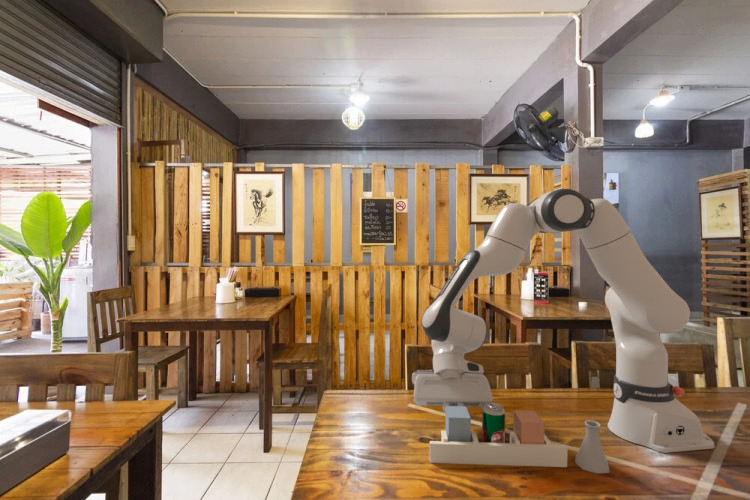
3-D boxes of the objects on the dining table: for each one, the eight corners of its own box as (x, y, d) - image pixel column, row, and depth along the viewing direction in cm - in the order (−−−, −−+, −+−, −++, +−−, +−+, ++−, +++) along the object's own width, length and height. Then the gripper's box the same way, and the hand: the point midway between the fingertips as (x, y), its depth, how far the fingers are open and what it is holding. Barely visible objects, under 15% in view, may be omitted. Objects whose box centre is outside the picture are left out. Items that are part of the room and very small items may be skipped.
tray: (538, 431, 102) (538, 410, 102) (567, 470, 85) (567, 445, 85) (424, 428, 104) (424, 407, 104) (430, 465, 87) (430, 441, 87)
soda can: (492, 465, 87) (493, 413, 86) (477, 454, 91) (477, 404, 91) (509, 459, 89) (509, 408, 89) (493, 449, 94) (493, 400, 93)
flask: (616, 479, 82) (617, 433, 82) (579, 475, 83) (580, 429, 83) (603, 460, 89) (604, 417, 89) (569, 456, 90) (570, 414, 90)
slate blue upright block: (464, 440, 96) (465, 404, 96) (470, 456, 89) (470, 418, 89) (444, 439, 96) (444, 404, 96) (448, 455, 89) (448, 417, 89)
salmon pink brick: (532, 445, 94) (533, 409, 93) (543, 462, 87) (544, 423, 86) (511, 445, 94) (512, 408, 94) (521, 461, 87) (521, 422, 87)
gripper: (411, 364, 104) (413, 417, 95) (488, 365, 103) (497, 419, 94) (411, 374, 109) (412, 426, 100) (484, 376, 108) (493, 428, 99)
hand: (454, 422), depth 97 cm, fingers closed, pressing on slate blue upright block
